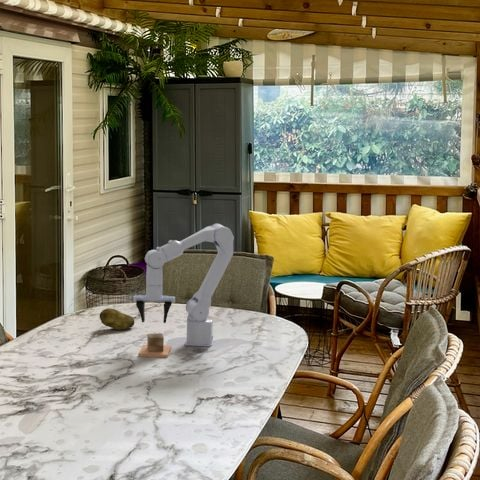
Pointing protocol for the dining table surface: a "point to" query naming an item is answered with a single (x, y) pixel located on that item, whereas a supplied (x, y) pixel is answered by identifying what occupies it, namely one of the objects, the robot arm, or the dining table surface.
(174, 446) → the dining table surface
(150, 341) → the walnut cube
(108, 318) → the olive green oval piece
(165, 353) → the terracotta tile
